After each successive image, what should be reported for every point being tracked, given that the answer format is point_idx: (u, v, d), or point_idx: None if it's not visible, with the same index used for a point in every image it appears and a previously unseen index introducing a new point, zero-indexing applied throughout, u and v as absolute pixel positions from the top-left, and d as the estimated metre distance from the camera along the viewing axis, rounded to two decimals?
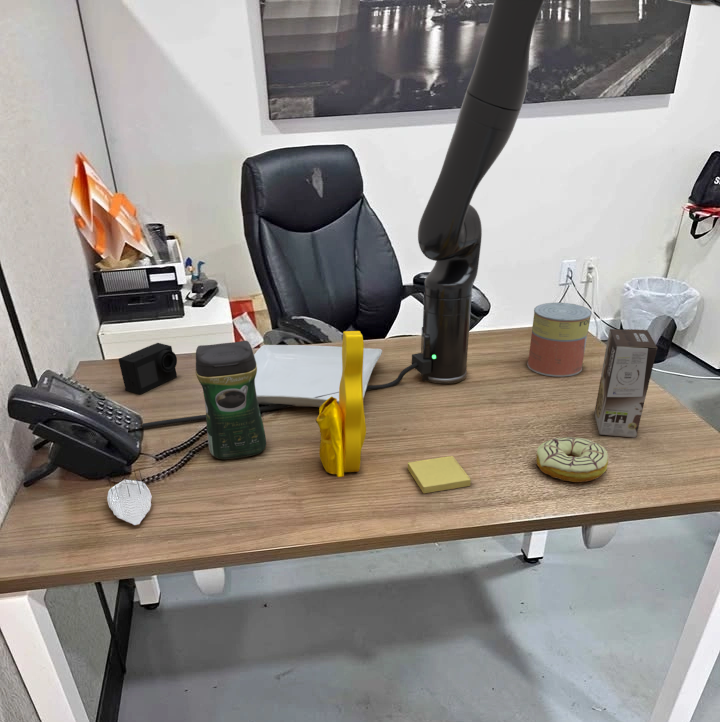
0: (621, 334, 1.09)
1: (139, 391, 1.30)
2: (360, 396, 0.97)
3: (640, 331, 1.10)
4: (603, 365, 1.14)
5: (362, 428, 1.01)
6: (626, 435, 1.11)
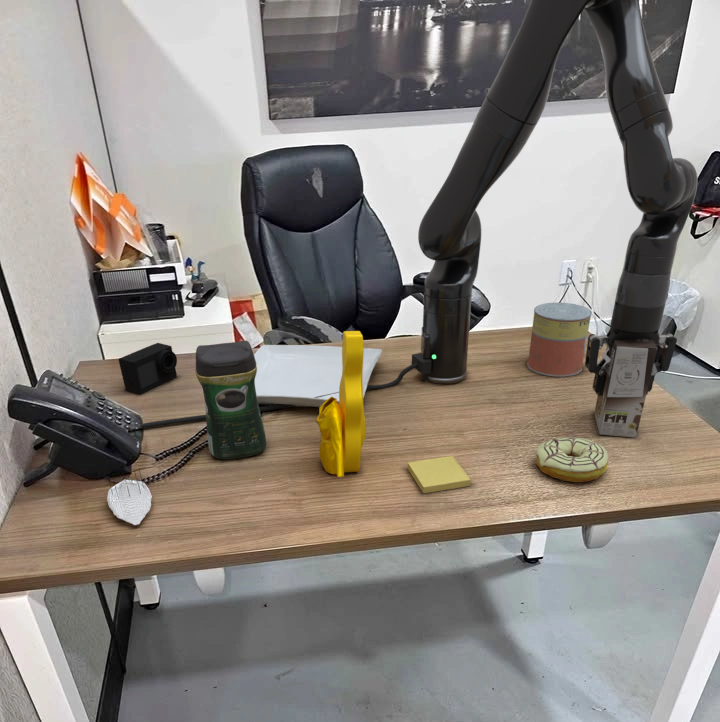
0: None
1: (139, 391, 1.30)
2: (360, 396, 0.97)
3: None
4: None
5: (362, 428, 1.01)
6: (626, 435, 1.11)
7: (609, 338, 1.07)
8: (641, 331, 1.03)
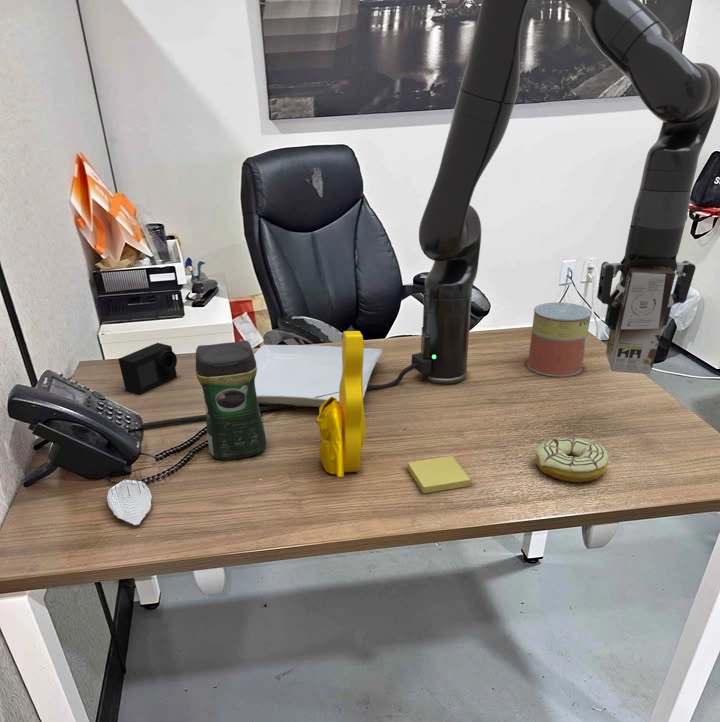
0: None
1: (139, 391, 1.30)
2: (360, 396, 0.97)
3: None
4: None
5: (362, 428, 1.01)
6: (640, 371, 1.05)
7: (624, 265, 1.00)
8: (658, 255, 0.97)
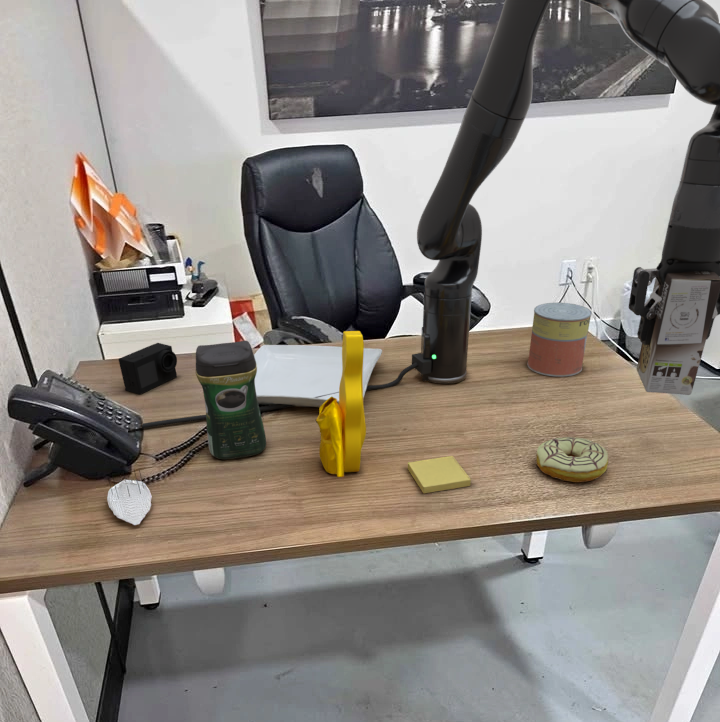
0: None
1: (139, 391, 1.30)
2: (360, 396, 0.97)
3: None
4: None
5: (362, 428, 1.01)
6: (679, 392, 0.92)
7: (661, 271, 0.87)
8: (702, 259, 0.83)
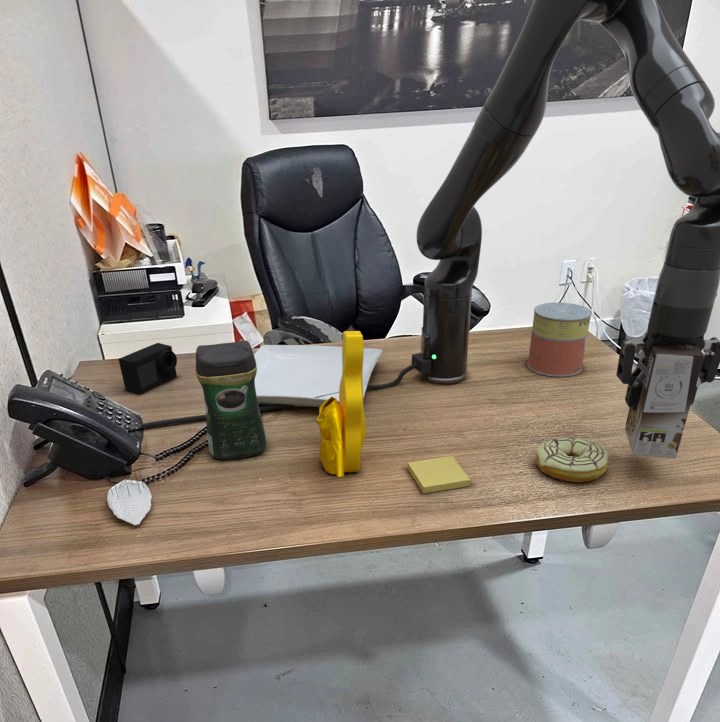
0: None
1: (139, 391, 1.30)
2: (360, 396, 0.97)
3: None
4: None
5: (362, 428, 1.01)
6: (664, 456, 0.96)
7: (646, 344, 0.91)
8: (685, 336, 0.88)
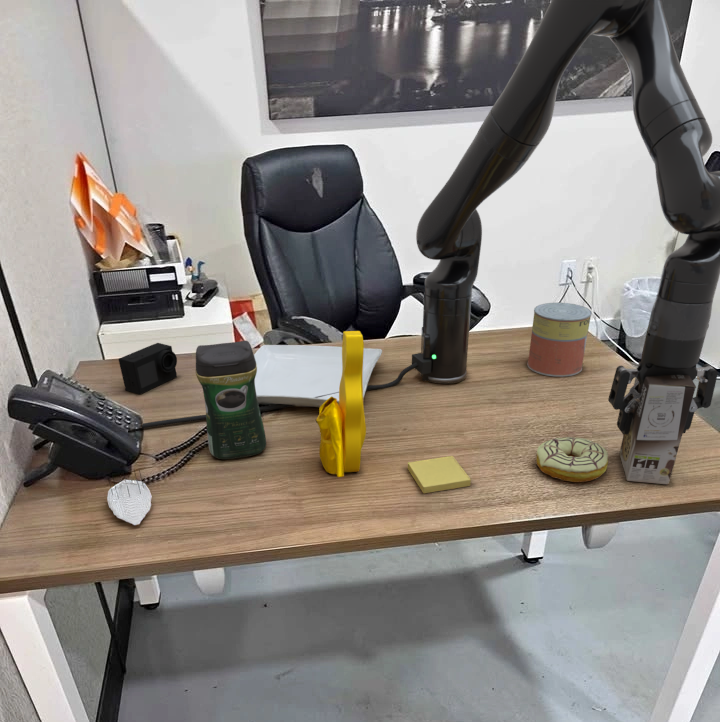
0: None
1: (139, 391, 1.30)
2: (360, 396, 0.97)
3: None
4: None
5: (362, 428, 1.01)
6: (657, 482, 0.99)
7: (640, 373, 0.94)
8: (678, 366, 0.90)
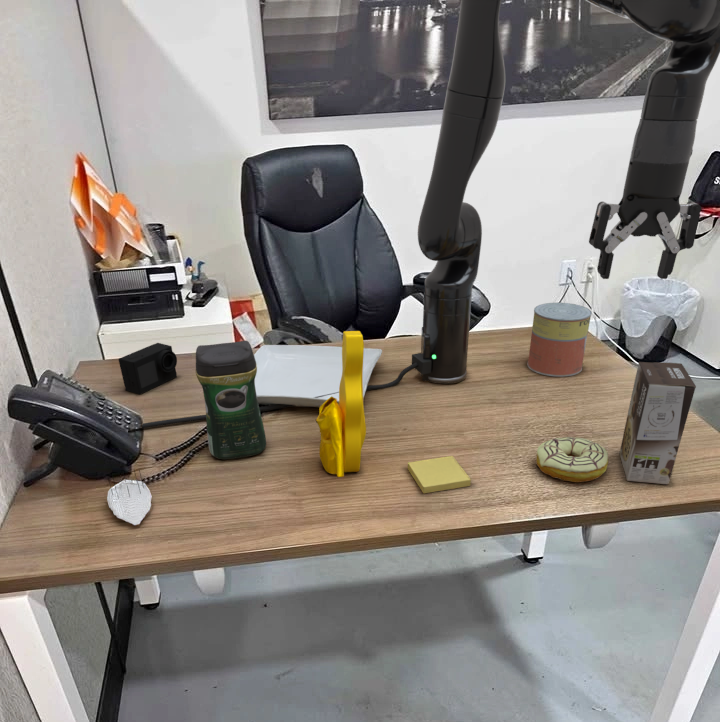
0: (652, 368, 0.96)
1: (139, 391, 1.30)
2: (360, 396, 0.97)
3: (673, 364, 0.97)
4: (631, 402, 1.01)
5: (362, 428, 1.01)
6: (657, 482, 0.99)
7: (621, 207, 0.91)
8: (659, 194, 0.87)
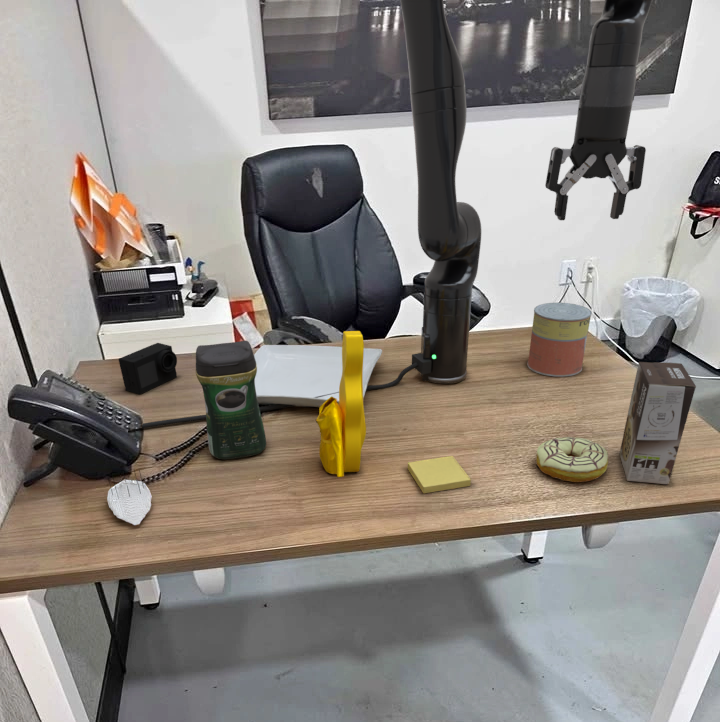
0: (652, 368, 0.96)
1: (139, 391, 1.30)
2: (360, 396, 0.97)
3: (673, 364, 0.97)
4: (631, 402, 1.01)
5: (362, 428, 1.01)
6: (657, 482, 0.99)
7: (572, 151, 0.99)
8: (606, 136, 0.96)
